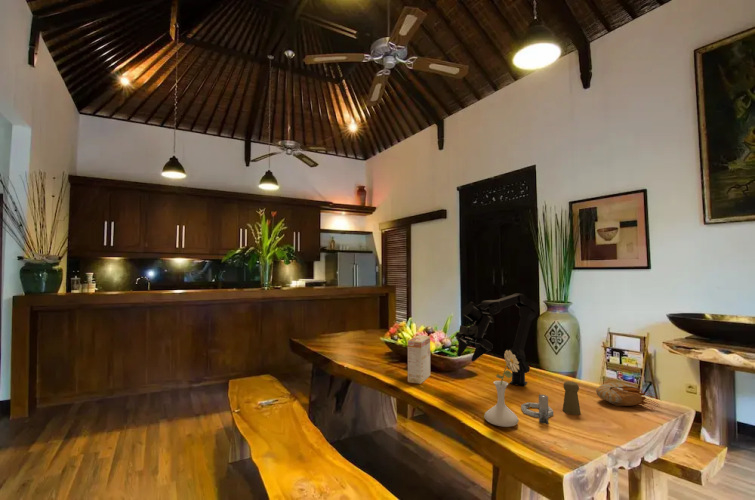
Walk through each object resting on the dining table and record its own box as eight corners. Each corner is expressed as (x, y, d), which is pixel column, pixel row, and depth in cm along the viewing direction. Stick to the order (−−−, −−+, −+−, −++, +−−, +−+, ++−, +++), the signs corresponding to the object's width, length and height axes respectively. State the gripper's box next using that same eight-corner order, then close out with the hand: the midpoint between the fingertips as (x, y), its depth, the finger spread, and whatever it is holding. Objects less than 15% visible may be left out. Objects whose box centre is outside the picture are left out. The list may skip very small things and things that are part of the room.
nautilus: (664, 409, 141) (658, 423, 130) (601, 392, 156) (591, 403, 145) (665, 389, 140) (659, 401, 130) (602, 374, 156) (592, 383, 145)
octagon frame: (519, 405, 142) (519, 382, 143) (547, 407, 140) (547, 384, 141) (529, 422, 127) (528, 396, 127) (560, 425, 125) (560, 398, 125)
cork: (579, 409, 138) (578, 380, 139) (582, 416, 133) (581, 385, 133) (561, 407, 140) (560, 379, 141) (563, 413, 135) (563, 383, 135)
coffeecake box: (417, 373, 184) (417, 334, 185) (431, 375, 181) (430, 336, 182) (406, 382, 171) (406, 340, 172) (421, 384, 168) (421, 341, 169)
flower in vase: (500, 432, 119) (499, 355, 120) (477, 419, 129) (476, 348, 131) (529, 426, 124) (528, 352, 125) (505, 413, 135) (505, 345, 136)
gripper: (454, 314, 166) (439, 345, 162) (482, 320, 149) (466, 354, 145) (470, 326, 170) (456, 356, 166) (500, 333, 153) (484, 367, 149)
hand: (465, 358), depth 156 cm, fingers open, 9 cm apart
